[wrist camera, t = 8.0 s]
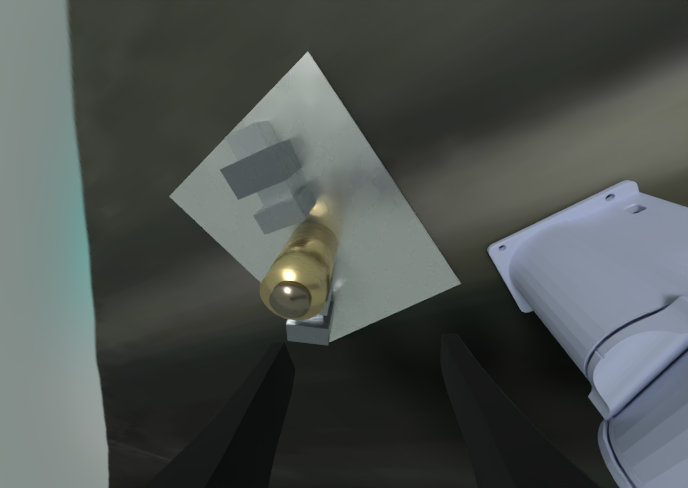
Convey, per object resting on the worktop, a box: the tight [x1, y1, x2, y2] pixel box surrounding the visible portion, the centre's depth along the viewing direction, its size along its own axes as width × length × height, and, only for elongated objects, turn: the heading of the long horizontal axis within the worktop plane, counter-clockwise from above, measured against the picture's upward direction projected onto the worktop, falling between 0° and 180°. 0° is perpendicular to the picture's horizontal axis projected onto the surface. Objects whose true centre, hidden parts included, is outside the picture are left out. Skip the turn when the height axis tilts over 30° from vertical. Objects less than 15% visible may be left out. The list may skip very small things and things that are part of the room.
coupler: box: [260, 222, 338, 320], centre depth 17 cm, size 4×4×7 cm
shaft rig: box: [170, 52, 461, 345], centre depth 19 cm, size 15×20×4 cm
